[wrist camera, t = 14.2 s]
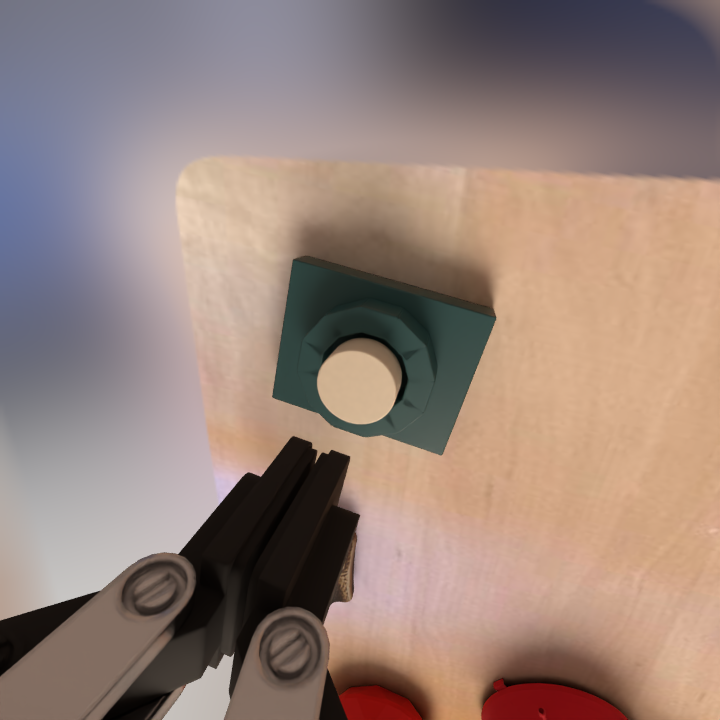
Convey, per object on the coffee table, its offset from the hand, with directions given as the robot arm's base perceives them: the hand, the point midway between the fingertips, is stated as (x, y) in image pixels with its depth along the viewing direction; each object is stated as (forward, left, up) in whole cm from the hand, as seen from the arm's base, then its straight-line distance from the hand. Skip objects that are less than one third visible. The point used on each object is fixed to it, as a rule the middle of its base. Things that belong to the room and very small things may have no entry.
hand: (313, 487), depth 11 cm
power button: (0, 0, -8) cm, 8 cm away
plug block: (0, 0, -12) cm, 12 cm away
